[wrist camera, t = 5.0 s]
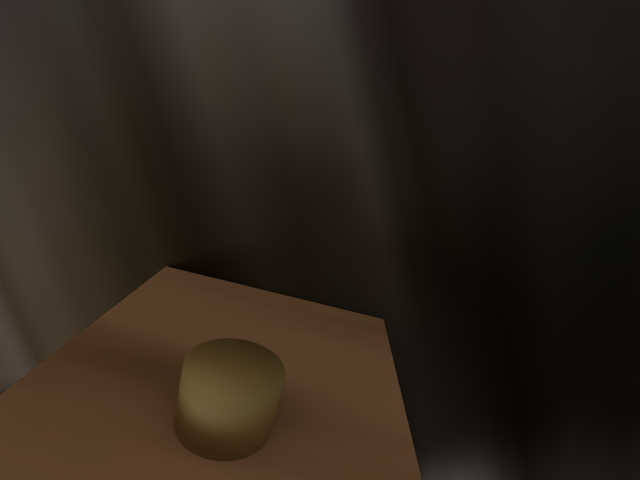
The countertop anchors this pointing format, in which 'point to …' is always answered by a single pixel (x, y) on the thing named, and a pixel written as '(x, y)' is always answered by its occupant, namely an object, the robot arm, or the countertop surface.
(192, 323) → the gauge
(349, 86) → the countertop surface
